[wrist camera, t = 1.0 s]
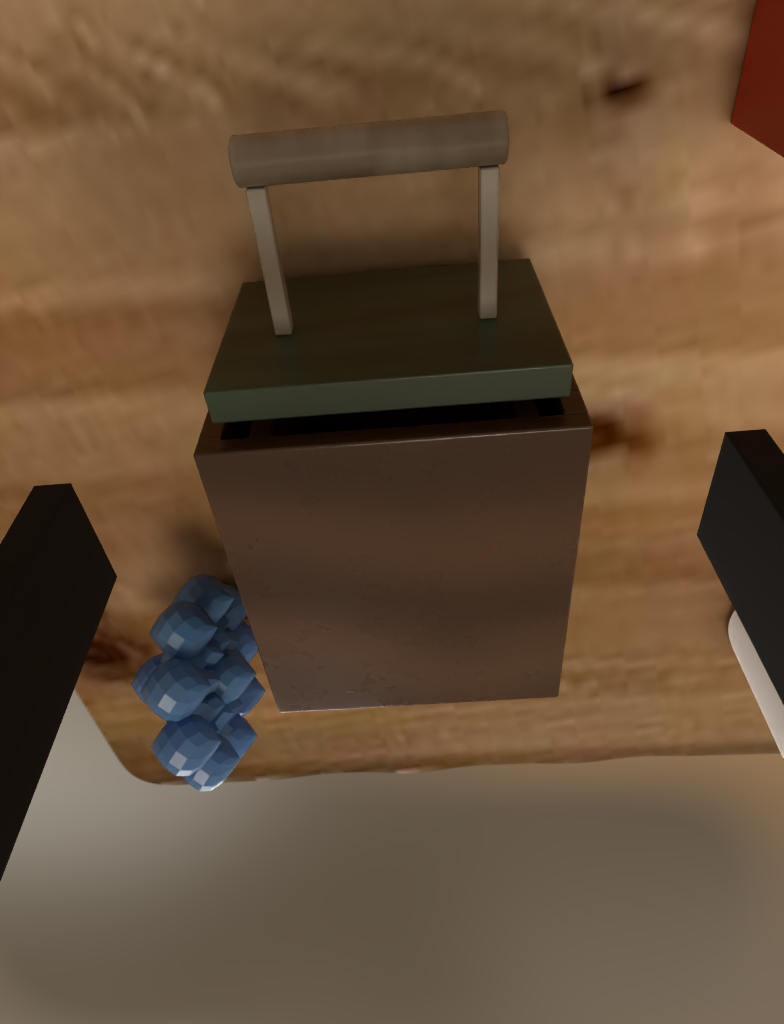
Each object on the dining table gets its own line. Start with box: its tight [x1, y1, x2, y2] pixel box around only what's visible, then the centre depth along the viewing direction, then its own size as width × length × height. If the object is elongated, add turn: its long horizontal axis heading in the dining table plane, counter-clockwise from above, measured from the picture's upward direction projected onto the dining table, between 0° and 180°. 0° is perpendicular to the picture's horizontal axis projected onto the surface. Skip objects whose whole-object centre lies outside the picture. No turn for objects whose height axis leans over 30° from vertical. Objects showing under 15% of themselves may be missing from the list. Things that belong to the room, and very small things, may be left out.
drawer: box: [204, 110, 573, 438], centre depth 27 cm, size 20×11×8 cm, turn 5°
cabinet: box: [194, 373, 594, 712], centre depth 30 cm, size 15×13×10 cm
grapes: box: [131, 574, 265, 791], centre depth 37 cm, size 12×7×12 cm, turn 6°
